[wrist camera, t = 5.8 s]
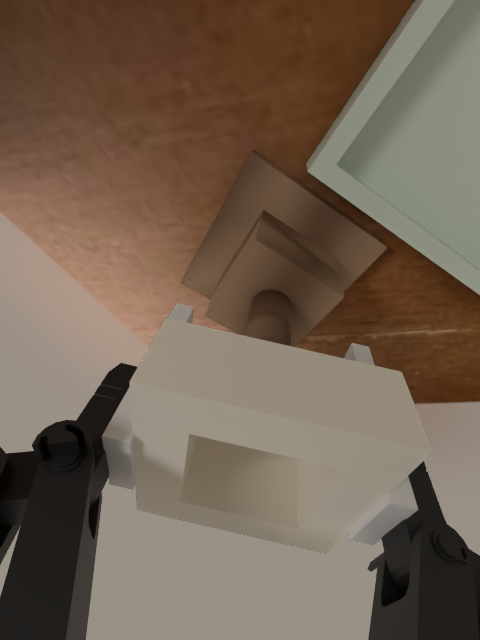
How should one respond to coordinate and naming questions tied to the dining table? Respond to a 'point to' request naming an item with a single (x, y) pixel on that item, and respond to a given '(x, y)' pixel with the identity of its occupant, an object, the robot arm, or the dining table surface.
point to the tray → (417, 137)
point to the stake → (278, 256)
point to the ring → (267, 436)
